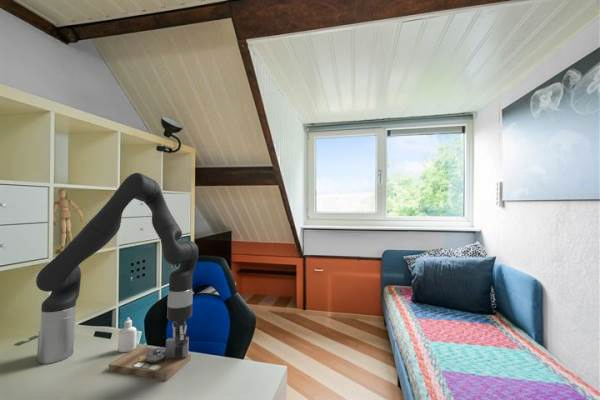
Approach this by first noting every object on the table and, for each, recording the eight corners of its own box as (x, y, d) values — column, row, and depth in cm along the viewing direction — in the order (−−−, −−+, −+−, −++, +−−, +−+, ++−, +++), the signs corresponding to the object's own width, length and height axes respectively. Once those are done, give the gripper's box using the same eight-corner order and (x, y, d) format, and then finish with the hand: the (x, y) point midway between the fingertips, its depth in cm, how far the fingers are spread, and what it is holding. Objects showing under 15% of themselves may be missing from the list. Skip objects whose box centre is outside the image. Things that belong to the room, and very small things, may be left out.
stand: (108, 370, 88) (109, 363, 88) (138, 351, 99) (138, 345, 99) (166, 380, 83) (166, 372, 83) (190, 359, 94) (190, 353, 95)
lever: (142, 355, 93) (142, 337, 93) (189, 350, 96) (190, 333, 96) (134, 365, 86) (135, 346, 87) (185, 360, 90) (186, 342, 90)
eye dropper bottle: (127, 354, 97) (128, 320, 98) (116, 351, 99) (117, 318, 100) (137, 348, 101) (139, 316, 102) (127, 346, 103) (128, 314, 104)
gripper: (196, 307, 84) (194, 363, 83) (189, 295, 95) (187, 345, 95) (169, 311, 80) (167, 370, 79) (165, 298, 91) (163, 350, 91)
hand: (178, 356), depth 87 cm, fingers closed
